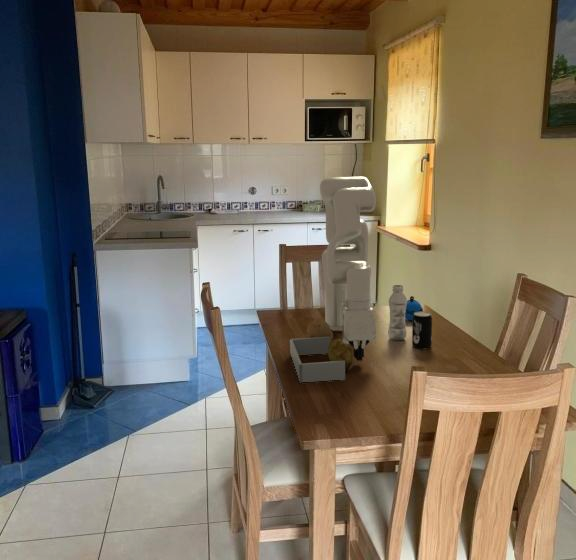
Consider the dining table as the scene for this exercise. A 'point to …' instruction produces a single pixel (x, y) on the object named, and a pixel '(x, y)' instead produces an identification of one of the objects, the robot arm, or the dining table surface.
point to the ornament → (412, 308)
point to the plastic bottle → (397, 314)
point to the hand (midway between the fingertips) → (358, 359)
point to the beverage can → (422, 330)
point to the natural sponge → (319, 329)
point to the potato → (340, 352)
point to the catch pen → (319, 369)
